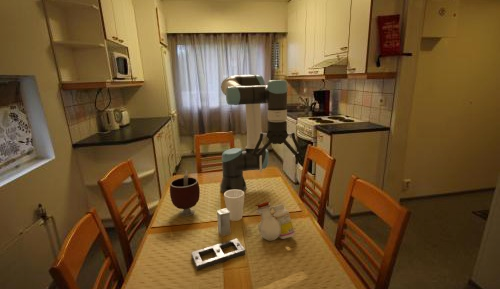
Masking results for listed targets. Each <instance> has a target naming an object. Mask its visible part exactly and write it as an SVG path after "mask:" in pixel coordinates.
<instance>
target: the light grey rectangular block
mask: <svg viewBox="0 0 500 289" xmlns="http://www.w3.org/2000/svg"><path fill="white" fill-rule="evenodd" d="M216 216H217V230H218V233H219V235H220V236H221V237H224V236H228V235H231V233H232V232H231V220H230V212H229V211H228V210H227V208H226V207H224V208H219V209H217V210H216Z"/></svg>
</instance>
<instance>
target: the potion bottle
mask: <svg viewBox="0 0 500 289" xmlns="http://www.w3.org/2000/svg"><path fill="white" fill-rule="evenodd" d="M255 207H257V209H256V210H255V211H256V213H259V214H260V218H261V220H260V222H259V224H258V232H259V234H260V236H261V238H262V239H265V240H267V241H276V239H278V238H280V237H279V236H280V234H281V224H280V222H279V221H278V220H277V219H276V218H275V217H273V214H272V212H271V209H272V208H273V206H272V205H270V201H266V202H263V203H259V204H256V205H255Z"/></svg>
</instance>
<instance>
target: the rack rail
mask: <svg viewBox="0 0 500 289" xmlns="http://www.w3.org/2000/svg"><path fill="white" fill-rule="evenodd" d="M232 247H233V249H234V250H233V251H231V252H227V253H224V252H223V250H226V249H229V248H232ZM190 254H191V259H192V261H193V265H194V267H195V269H196V271H197V272H198V271H201V270H203V269H207V268H210V267H213V266H216V265H219V264H222V263H225V262H227V261H231V260H234V259H237V258H240V257H243V256H245V255H246V249H245V247H244V245H242V243H241V242H240V241H239V239H238V238H233V239H230V240H227V241H223V242H221V243H217V244H214V245H211V246H208V247H207V246H206V247H205V248H201V249H197V250H194V251H193V250H192V251H191V252H190ZM210 254H213V256H214V257H212V258H208V259H205V260H202V258H201V257H204V256H208V255H210Z"/></svg>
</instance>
